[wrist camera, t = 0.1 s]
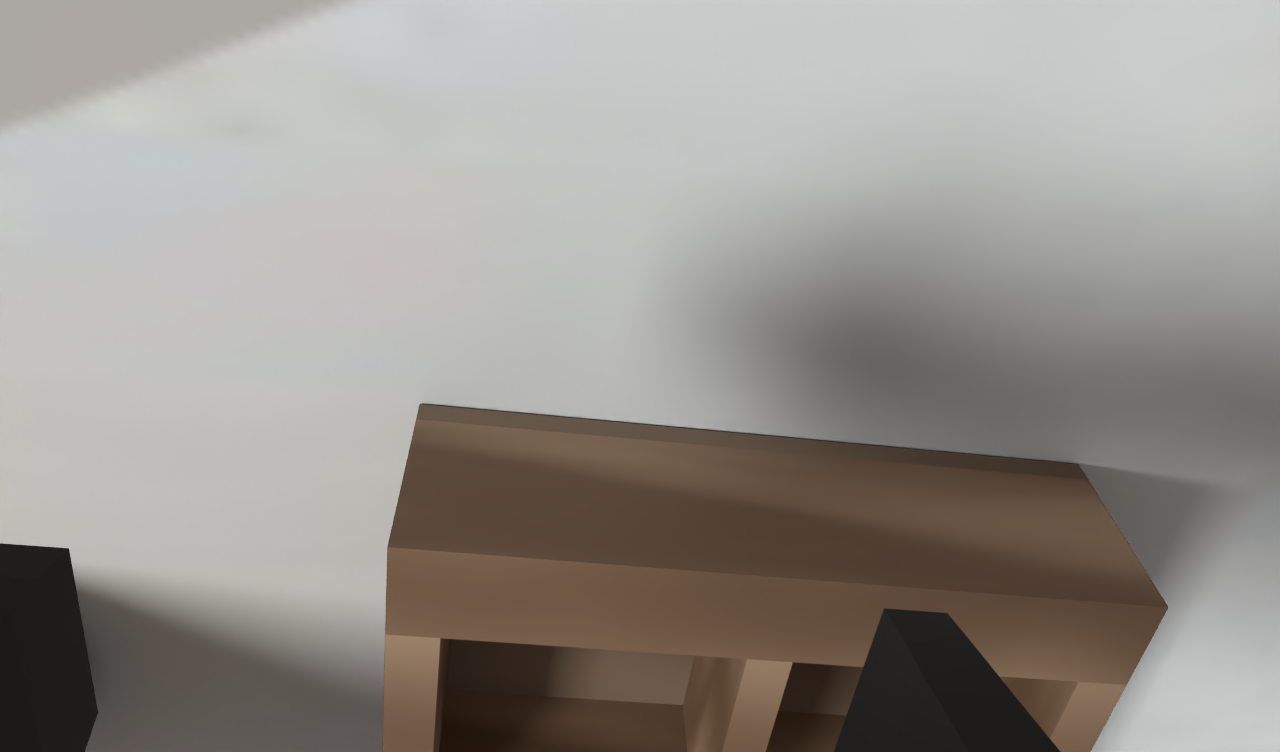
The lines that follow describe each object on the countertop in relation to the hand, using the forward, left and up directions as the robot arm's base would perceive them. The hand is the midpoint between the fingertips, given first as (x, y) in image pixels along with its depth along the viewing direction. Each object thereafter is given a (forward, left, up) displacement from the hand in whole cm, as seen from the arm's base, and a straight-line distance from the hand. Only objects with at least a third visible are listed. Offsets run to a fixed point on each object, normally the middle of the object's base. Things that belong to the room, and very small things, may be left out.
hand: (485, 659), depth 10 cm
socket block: (-9, -5, -10) cm, 14 cm away
